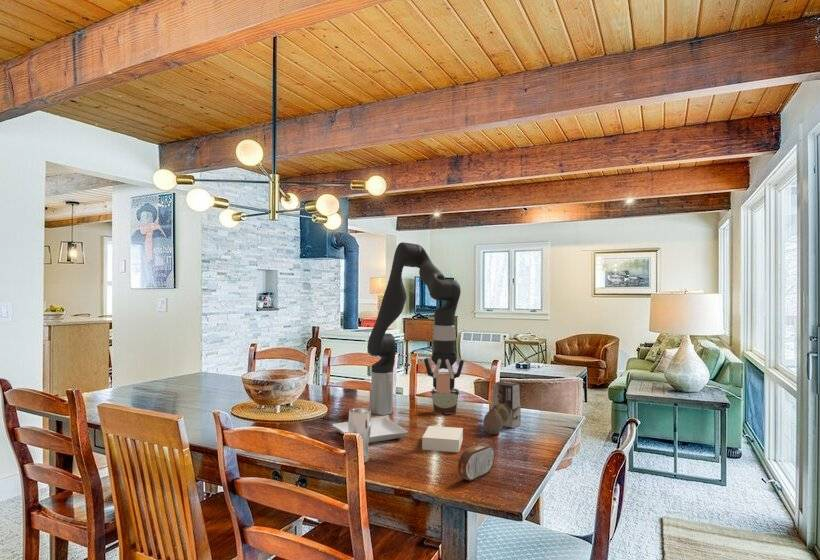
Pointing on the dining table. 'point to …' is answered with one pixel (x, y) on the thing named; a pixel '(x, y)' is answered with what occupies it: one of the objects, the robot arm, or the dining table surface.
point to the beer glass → (361, 426)
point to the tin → (476, 461)
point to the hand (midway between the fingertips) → (443, 389)
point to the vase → (492, 422)
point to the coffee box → (508, 402)
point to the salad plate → (377, 429)
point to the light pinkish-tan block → (443, 383)
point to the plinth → (442, 439)
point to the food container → (445, 401)
